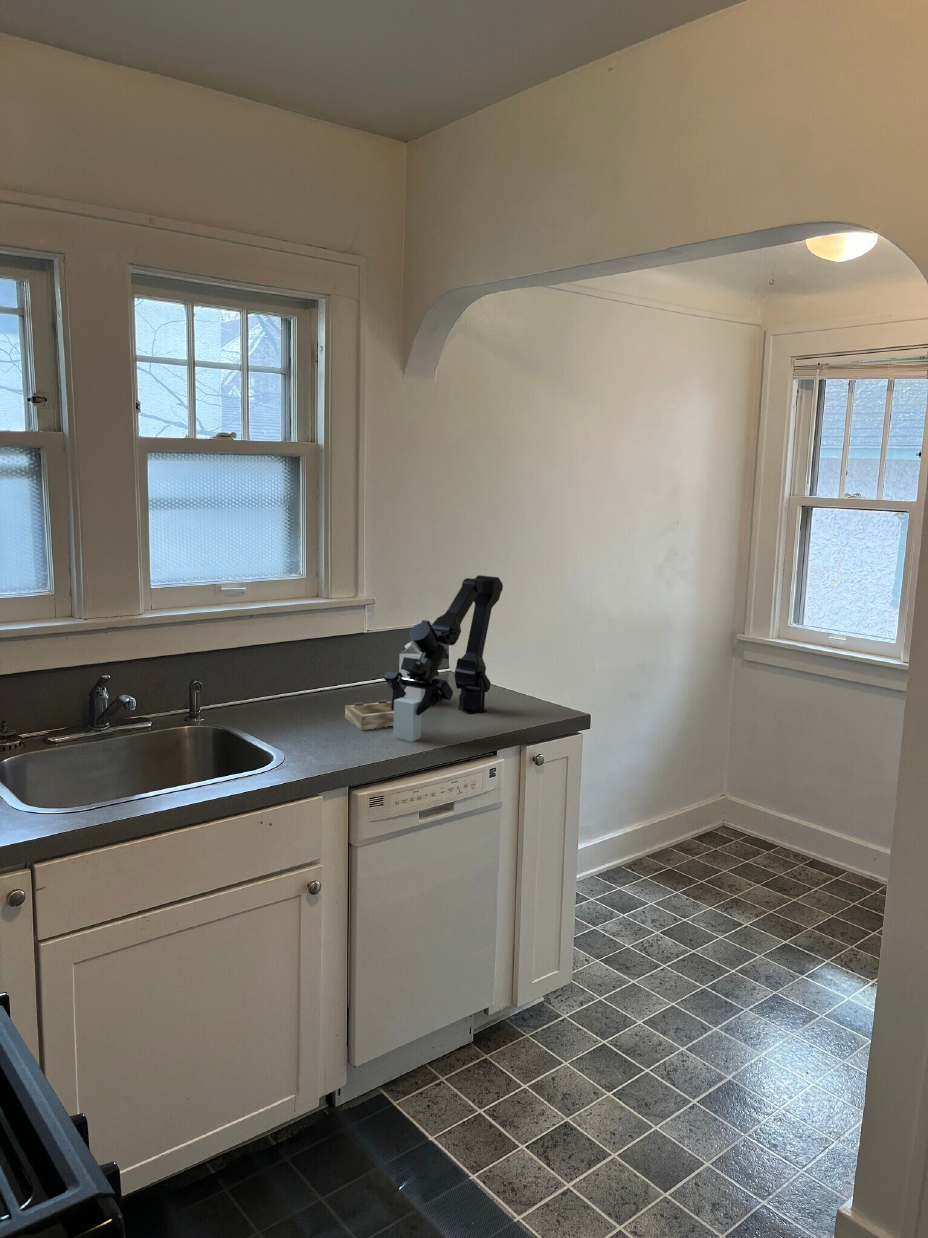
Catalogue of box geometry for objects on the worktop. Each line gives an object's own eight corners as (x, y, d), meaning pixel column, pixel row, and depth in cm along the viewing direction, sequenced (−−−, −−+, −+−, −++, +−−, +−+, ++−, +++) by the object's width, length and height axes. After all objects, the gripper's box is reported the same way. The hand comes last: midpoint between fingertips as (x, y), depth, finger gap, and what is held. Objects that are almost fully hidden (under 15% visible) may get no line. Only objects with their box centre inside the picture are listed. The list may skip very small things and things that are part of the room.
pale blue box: (402, 734, 244) (402, 697, 242) (421, 738, 241) (422, 700, 239) (393, 737, 240) (394, 700, 239) (412, 741, 237) (413, 703, 236)
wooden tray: (391, 713, 263) (391, 698, 262) (409, 724, 252) (409, 709, 252) (345, 718, 256) (345, 703, 255) (361, 730, 246) (361, 714, 245)
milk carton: (429, 700, 277) (431, 638, 274) (420, 706, 271) (422, 642, 267) (407, 698, 280) (409, 636, 276) (398, 703, 273) (399, 640, 270)
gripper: (388, 640, 245) (362, 689, 237) (448, 649, 235) (423, 701, 228) (404, 664, 253) (380, 712, 245) (463, 674, 243) (439, 724, 236)
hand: (404, 712), depth 238 cm, fingers open, 7 cm apart
